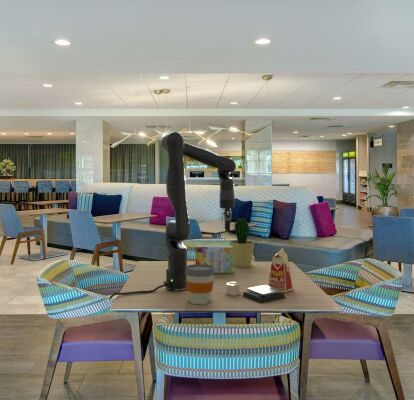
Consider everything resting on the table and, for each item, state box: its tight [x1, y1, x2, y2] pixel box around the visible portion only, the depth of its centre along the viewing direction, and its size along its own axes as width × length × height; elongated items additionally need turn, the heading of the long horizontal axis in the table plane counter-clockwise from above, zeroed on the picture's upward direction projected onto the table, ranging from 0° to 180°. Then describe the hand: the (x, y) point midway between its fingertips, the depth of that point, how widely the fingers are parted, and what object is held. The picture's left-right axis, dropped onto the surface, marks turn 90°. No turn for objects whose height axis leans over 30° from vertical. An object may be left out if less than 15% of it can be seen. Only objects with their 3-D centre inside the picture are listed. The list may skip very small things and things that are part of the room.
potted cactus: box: [228, 217, 255, 269], centre depth 250 cm, size 15×15×30 cm
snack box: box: [194, 245, 234, 274], centre depth 232 cm, size 21×6×15 cm, turn 84°
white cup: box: [225, 281, 241, 297], centre depth 188 cm, size 6×6×5 cm
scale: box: [242, 290, 286, 304], centre depth 183 cm, size 14×12×3 cm
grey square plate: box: [246, 284, 282, 296], centre depth 183 cm, size 11×11×1 cm
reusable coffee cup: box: [185, 263, 215, 305], centre depth 177 cm, size 13×13×15 cm
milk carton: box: [268, 247, 294, 293], centre depth 195 cm, size 9×9×20 cm
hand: (227, 230), depth 206 cm, fingers open, 8 cm apart
